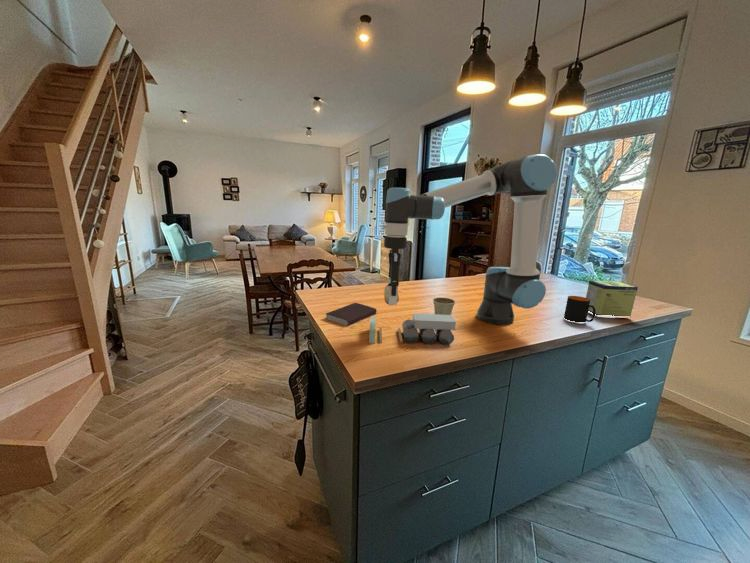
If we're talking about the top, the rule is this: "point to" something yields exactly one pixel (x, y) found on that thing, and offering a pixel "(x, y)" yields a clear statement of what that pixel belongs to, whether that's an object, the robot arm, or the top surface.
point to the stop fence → (372, 329)
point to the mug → (578, 309)
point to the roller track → (422, 334)
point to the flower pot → (443, 305)
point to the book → (351, 314)
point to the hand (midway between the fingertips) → (391, 299)
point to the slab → (433, 321)
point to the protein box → (611, 297)
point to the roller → (386, 294)
